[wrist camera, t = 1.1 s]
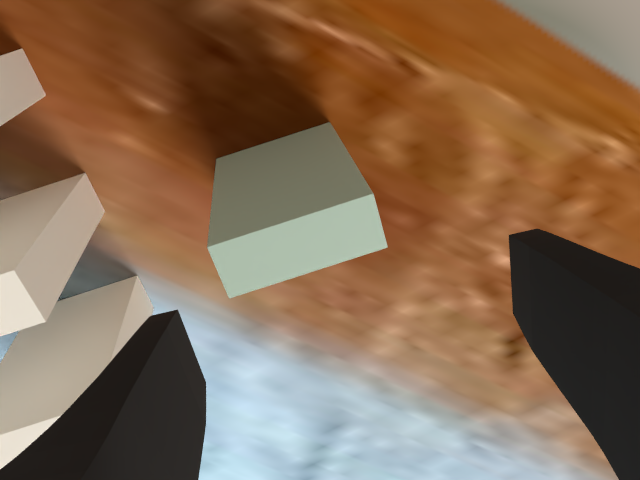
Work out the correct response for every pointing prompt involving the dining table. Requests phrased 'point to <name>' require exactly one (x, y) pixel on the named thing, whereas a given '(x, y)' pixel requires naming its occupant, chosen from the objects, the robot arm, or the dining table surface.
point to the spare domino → (289, 210)
